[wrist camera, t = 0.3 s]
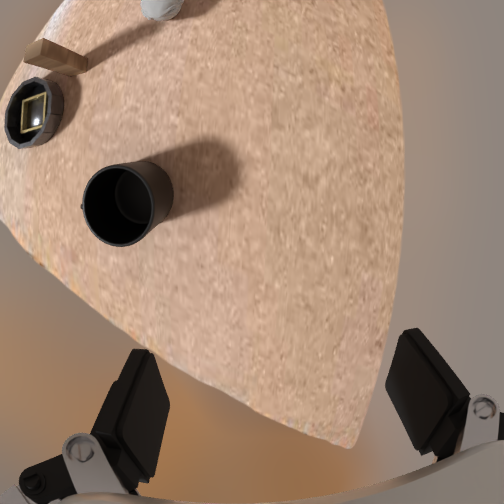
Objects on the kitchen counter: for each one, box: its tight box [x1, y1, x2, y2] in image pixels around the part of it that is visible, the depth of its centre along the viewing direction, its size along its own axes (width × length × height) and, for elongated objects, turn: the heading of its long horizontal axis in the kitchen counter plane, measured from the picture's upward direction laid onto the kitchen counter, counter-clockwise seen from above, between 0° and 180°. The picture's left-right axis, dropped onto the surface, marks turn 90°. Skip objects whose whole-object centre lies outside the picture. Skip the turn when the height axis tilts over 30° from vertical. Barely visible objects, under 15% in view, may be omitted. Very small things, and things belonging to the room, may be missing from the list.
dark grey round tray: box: [5, 77, 64, 149], centre depth 30 cm, size 11×11×4 cm
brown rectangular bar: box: [24, 38, 88, 77], centre depth 24 cm, size 2×3×12 cm
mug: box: [81, 161, 173, 247], centre depth 33 cm, size 9×12×9 cm
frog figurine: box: [140, 0, 184, 21], centre depth 25 cm, size 6×7×7 cm
